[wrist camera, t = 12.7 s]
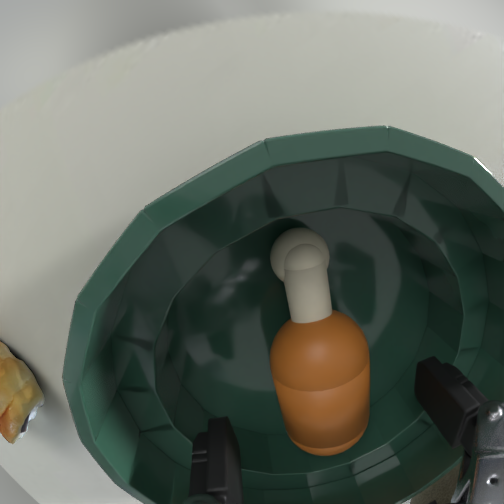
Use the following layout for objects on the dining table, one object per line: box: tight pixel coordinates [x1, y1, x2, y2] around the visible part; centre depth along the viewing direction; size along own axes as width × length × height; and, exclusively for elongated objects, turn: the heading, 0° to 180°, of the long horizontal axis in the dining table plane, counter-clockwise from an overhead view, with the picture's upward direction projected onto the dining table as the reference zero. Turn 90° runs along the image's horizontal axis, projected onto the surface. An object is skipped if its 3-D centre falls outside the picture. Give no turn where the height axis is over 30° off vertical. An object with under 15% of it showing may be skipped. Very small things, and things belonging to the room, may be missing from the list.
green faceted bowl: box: [62, 125, 504, 504], centre depth 11 cm, size 17×17×6 cm
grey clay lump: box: [410, 462, 461, 504], centre depth 12 cm, size 14×14×15 cm
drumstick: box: [270, 228, 370, 456], centre depth 12 cm, size 11×4×4 cm, turn 12°
